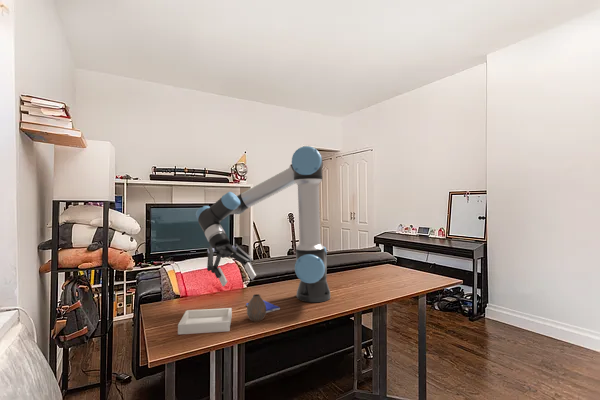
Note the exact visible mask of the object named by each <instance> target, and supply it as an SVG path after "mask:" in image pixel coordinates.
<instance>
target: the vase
mask: <svg viewBox="0 0 600 400" xmlns="http://www.w3.org/2000/svg"><path fill="white" fill-rule="evenodd" d="M263 300H264V299H263V298H262V297H261V294H257V293H256V294H253V295H252V298H251V299H250V300H249V302H247V303H248V306H246V314H247V317H248V318H249V320H250V321H251V322H261V321H262V320H264V318H265V317H266V314H267V313H266V305H265V302H264V301H265V300H264V301H263Z"/></svg>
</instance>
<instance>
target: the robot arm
mask: <svg viewBox="0 0 600 400" xmlns="http://www.w3.org/2000/svg"><path fill="white" fill-rule="evenodd" d="M323 167H324V162H323V158H322V154H321V153H320V151H319V150H317V148H315V147H313V146H309V145H308V146H307V145H306V146H301V147H299V148H298V149H296V150H295V151H294V152H293V154H292V157H291V164H290V165H289V167H288V168H286V169H285V170H283V171H281V172H279V173H277V174H275V175H273V176H271V177H269V178H268V179H266V180H264V181H262V182H260V183H258V184H256V185H255V186H253V187H251V188H249V189H247V190H245V191H243V192H242V193H239V194H238V195H236V194H235V193H234V192H232V191H228V192H226V193H225V194H223V195H222V196H221V197H220V198H219V199H218V200H217V201H216V202H214V204H213V203H212V205H211V206H209V205H203V206H202V207H199V208H197V210H196V212H195V217H196V220H197V223H198V224H199V226H200V228H201V229H202V232H203V234H204V236H205V238H206V240H207V242H208V244H209V247H208V248H207V250H206V254H207V262H206V263H207V265H206V266H207V267H206V270H207V271H208V272H211V273H212V274H214V275H215V277H216V279H218V280H219V282H220V284H221V286H222V287H225V286H226V285H227V283H228V279H227V278H226V276H225V274H224V272H223V269H222V268H221V266H220V262H221V259H224V258H231V259H235V260H236V261H237V262H240V263H241V264H243V265H244V270H245V271H246V272H247V275H248V276H249V278H250V280H254V279H255V277H256V276H257V274H256V272H255V270H254V267H253V265H252V262H253V257H252V256H250V255H249V254H248V253H247V252H245V251H244V250H243V249H242V248H241V247H240V246H239V244H238V243H235V244H234V245H231V243H230V239H229V236H228V235H227V233H226V231H225V230H224V228H223V226H222V224H221V222H222V221H223V220H225V218H227V217H228V216H229V215H240V214H242V213H244V212H245V211H246V210H248V209H249V208H251V207H253V206H255V205H257V204H259V203H261V202H263V201H265V200H267V199H268V198H271V197H272V196H274V195H276V194H278V193H279V192H283V191H284V190H286V189H287V188H289V187H291V186H293V185H297V200H298V203H297V205H298V206H297V207H298V208H297V209H298V230H299V231H298V236H299V237H298V238H299V240H298V243H299V244H298V245H297V246H296V247H295V260H296V261H295V263H294V273H295V274H296V277H297V278H298V279H299V285H298V287H297V290H296V298H297V300H299V301H302V302H305V303H321V302H327V301H329V300H330V299H331V290H330V286H329V284H328V281H327V280H328V279H327V261H328V260H327V257H328V256H327V254H328V252H327V247H326V246H324V245H323V243H321V242H322V241H321V213H320V208H321V207H320V183H321V182H322V181H323ZM214 254H216V257H215V261H214ZM219 266H220V267H219Z"/></svg>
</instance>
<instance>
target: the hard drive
mask: <svg viewBox="0 0 600 400" xmlns="http://www.w3.org/2000/svg"><path fill="white" fill-rule="evenodd" d="M263 301H264V302H265V305H266V314H267V313H271V312H275V311H279V310H281V307H280V306H278V305H275V304H273V303H271V302H269V301H266V300H264V299H263ZM248 303H249V302H246V303H245V306H246V307H247V306H248Z"/></svg>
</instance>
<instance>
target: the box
mask: <svg viewBox="0 0 600 400" xmlns="http://www.w3.org/2000/svg"><path fill="white" fill-rule="evenodd" d="M232 310H233V309H232V307H223V308H209V309H208V308H205V309H202V308H201V309H188V310H185V312H184V313H183V316H182V317H181V319H180V321H179V322H178V324H177V335H192V334H206V333H208V334H210V333H221V332H230V329H231V323H232V315H233V313H232V312H233V311H232Z"/></svg>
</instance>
